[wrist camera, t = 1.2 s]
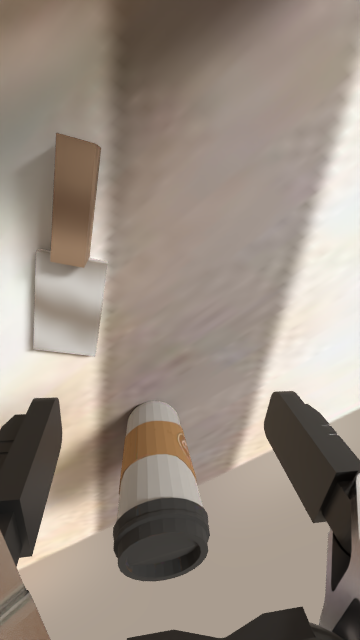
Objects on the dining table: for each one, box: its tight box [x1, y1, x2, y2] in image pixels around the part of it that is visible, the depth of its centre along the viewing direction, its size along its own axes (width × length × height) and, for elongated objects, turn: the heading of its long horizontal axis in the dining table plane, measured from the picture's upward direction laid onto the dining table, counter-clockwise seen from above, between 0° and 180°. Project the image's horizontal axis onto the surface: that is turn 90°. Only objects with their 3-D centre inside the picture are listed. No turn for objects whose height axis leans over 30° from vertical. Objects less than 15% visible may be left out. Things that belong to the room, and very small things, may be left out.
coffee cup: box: [113, 401, 210, 581], centre depth 30 cm, size 8×8×15 cm
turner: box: [33, 133, 108, 356], centre depth 25 cm, size 19×6×3 cm, turn 167°
